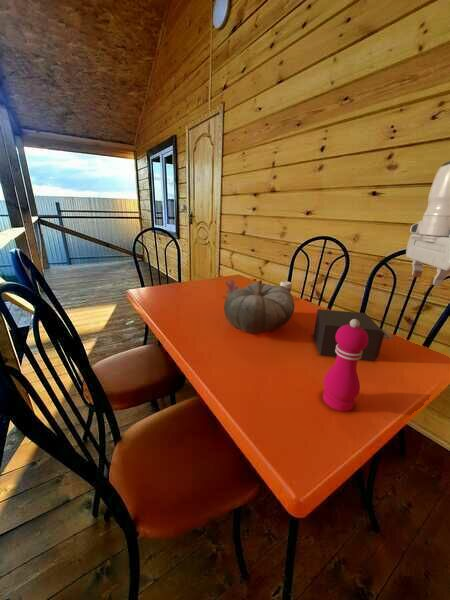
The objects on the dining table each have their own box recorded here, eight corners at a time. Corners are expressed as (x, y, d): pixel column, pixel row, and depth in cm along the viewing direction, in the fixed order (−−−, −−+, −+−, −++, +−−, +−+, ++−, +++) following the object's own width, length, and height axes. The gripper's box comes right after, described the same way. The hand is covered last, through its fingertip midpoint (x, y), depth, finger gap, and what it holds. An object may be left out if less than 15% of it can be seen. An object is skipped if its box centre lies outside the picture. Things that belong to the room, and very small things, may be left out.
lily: (221, 305, 114) (231, 289, 110) (211, 289, 122) (221, 273, 118) (241, 308, 122) (251, 293, 117) (231, 293, 129) (240, 278, 125)
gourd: (305, 317, 95) (304, 273, 88) (278, 354, 77) (274, 303, 70) (247, 308, 109) (242, 269, 102) (213, 338, 91) (204, 294, 84)
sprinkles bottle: (276, 311, 107) (279, 280, 103) (287, 312, 107) (291, 281, 102) (277, 315, 103) (281, 283, 98) (289, 316, 103) (293, 284, 98)
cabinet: (359, 340, 85) (365, 313, 82) (373, 361, 73) (381, 330, 70) (313, 335, 87) (317, 309, 84) (320, 355, 75) (325, 325, 72)
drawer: (377, 340, 83) (383, 318, 81) (393, 359, 72) (401, 334, 70) (321, 334, 86) (325, 313, 83) (328, 352, 75) (333, 328, 72)
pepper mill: (323, 386, 61) (338, 309, 55) (356, 397, 58) (376, 317, 51) (317, 404, 56) (333, 321, 49) (353, 418, 52) (375, 330, 45)
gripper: (487, 231, 55) (465, 292, 59) (431, 226, 74) (417, 273, 79) (454, 230, 56) (435, 290, 60) (407, 225, 75) (395, 271, 79)
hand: (425, 280), depth 70 cm, fingers open, 8 cm apart
